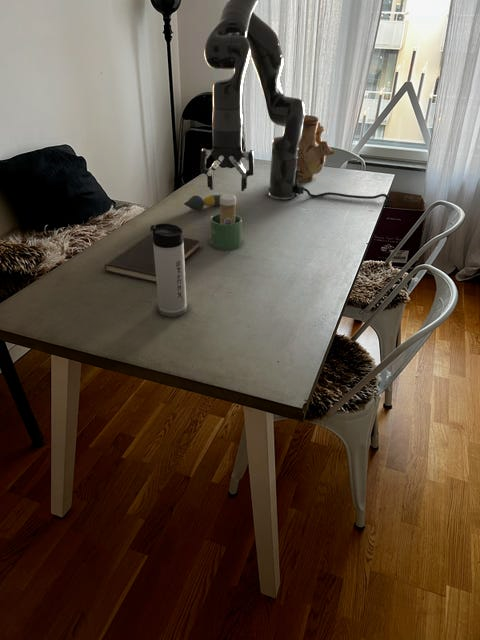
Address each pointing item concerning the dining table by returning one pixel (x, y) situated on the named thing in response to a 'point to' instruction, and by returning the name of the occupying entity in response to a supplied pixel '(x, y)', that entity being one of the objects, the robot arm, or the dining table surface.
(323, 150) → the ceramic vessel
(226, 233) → the cup
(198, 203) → the paintbrush
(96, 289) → the dining table surface
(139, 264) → the hardcover book
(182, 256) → the travel mug
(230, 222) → the sprinkles bottle
